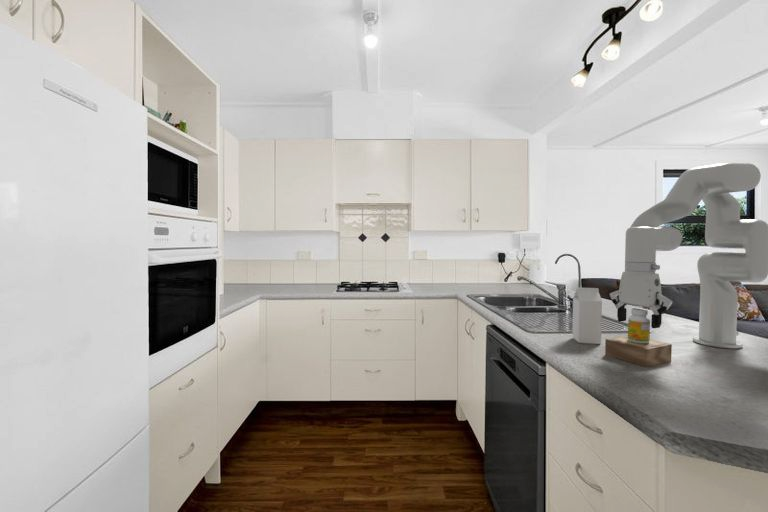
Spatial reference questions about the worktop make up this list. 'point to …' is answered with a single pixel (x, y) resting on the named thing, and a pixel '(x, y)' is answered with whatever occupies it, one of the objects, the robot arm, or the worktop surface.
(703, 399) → the worktop surface
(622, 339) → the pedestal
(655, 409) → the worktop surface
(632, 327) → the supplement bottle
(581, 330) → the milk carton
